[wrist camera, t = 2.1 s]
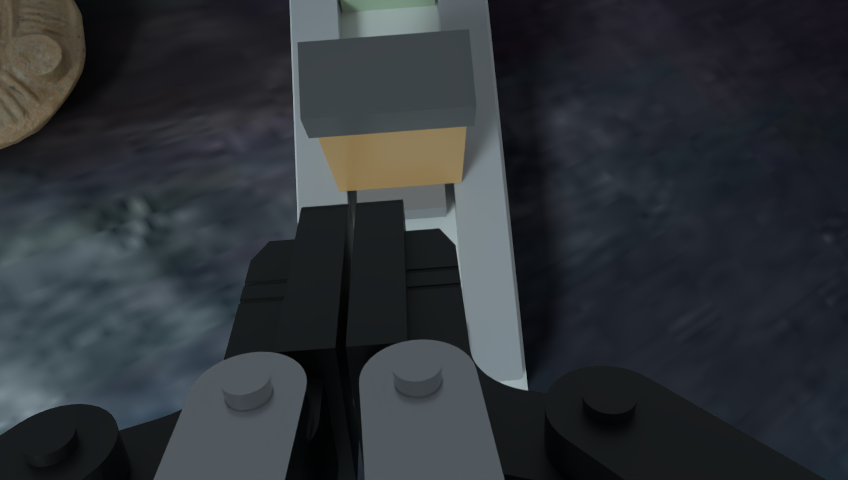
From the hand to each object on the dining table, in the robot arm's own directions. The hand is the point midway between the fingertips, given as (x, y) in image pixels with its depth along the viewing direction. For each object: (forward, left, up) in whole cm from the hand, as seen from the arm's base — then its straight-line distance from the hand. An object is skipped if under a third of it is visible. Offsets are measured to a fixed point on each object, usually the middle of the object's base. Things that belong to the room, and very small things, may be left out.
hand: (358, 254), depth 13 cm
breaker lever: (-5, +7, -21) cm, 22 cm away
